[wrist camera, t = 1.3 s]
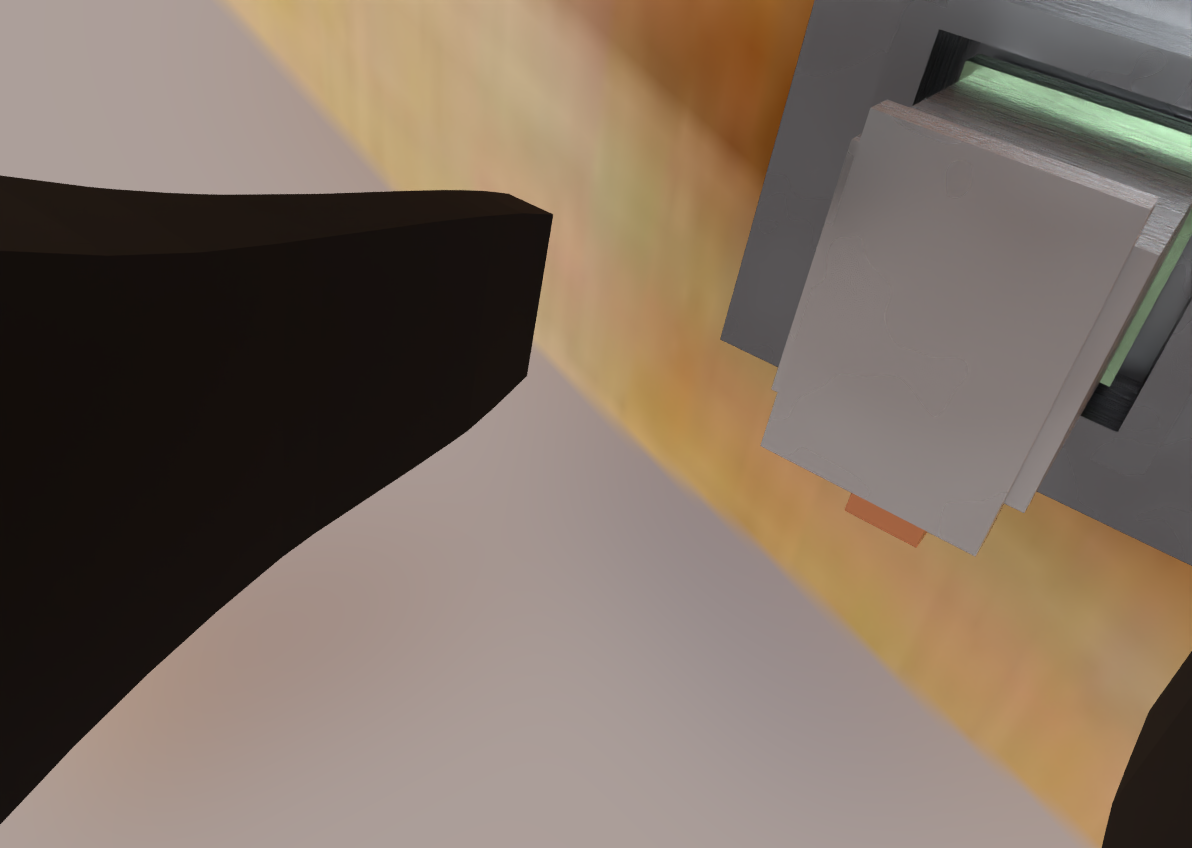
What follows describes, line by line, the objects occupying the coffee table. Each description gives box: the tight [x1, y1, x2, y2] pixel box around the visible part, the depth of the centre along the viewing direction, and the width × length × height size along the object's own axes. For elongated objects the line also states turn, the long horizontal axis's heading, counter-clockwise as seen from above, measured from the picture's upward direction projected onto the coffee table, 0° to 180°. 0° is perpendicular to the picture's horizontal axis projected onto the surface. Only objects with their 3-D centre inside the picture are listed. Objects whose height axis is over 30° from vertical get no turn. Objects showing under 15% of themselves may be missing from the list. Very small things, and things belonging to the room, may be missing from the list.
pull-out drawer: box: [761, 54, 1192, 556], centre depth 15 cm, size 4×5×6 cm
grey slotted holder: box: [720, 0, 1192, 566], centre depth 16 cm, size 10×10×5 cm
